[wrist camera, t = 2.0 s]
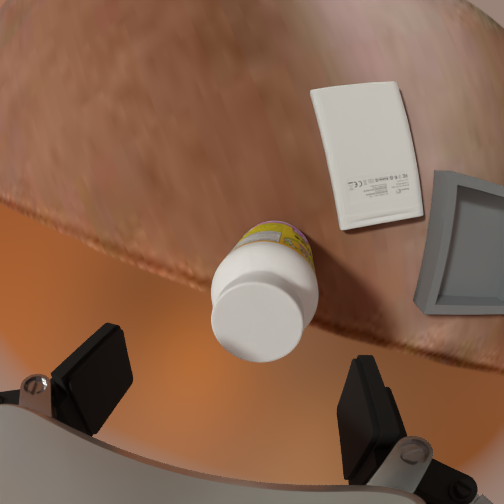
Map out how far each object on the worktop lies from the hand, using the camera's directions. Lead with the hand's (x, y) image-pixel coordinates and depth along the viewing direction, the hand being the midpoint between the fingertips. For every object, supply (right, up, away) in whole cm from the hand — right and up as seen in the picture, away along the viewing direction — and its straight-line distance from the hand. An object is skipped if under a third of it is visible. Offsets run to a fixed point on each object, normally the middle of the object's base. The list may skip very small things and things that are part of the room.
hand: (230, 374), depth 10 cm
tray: (+24, +5, +12) cm, 27 cm away
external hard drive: (+11, +14, +13) cm, 22 cm away
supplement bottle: (+3, +5, +16) cm, 17 cm away
